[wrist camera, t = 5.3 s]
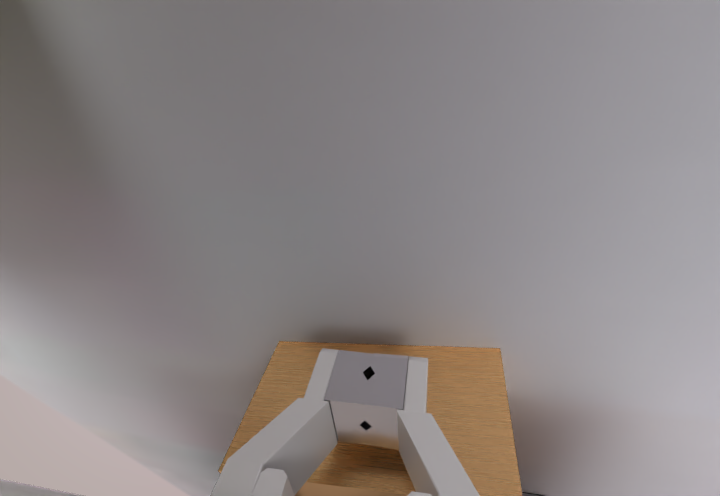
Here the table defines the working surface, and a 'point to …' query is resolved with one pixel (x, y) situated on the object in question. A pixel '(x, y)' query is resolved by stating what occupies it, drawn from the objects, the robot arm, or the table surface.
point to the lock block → (444, 401)
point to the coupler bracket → (525, 495)
